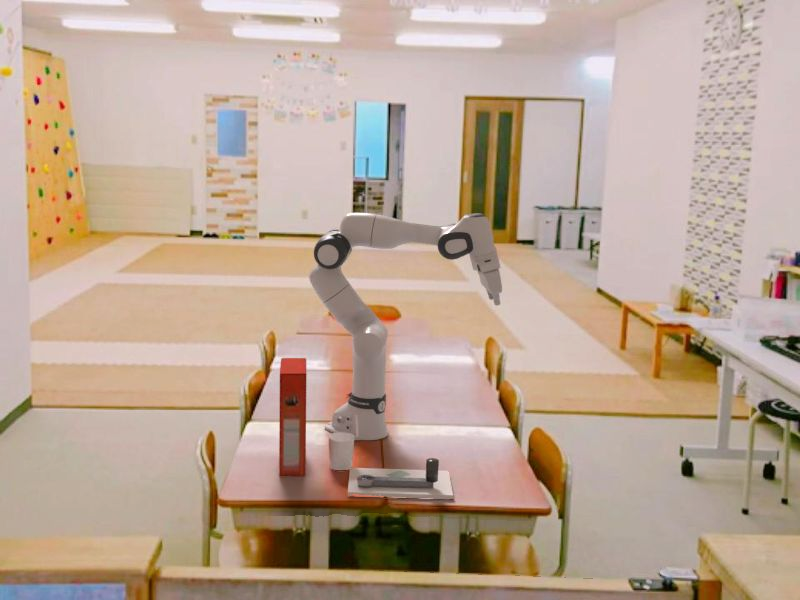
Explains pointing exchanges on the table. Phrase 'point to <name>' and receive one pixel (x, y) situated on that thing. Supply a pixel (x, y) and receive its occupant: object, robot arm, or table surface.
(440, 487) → the lever board
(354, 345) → the robot arm
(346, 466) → the white cup
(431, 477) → the lever
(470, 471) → the table surface
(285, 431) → the file binder
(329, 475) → the table surface
